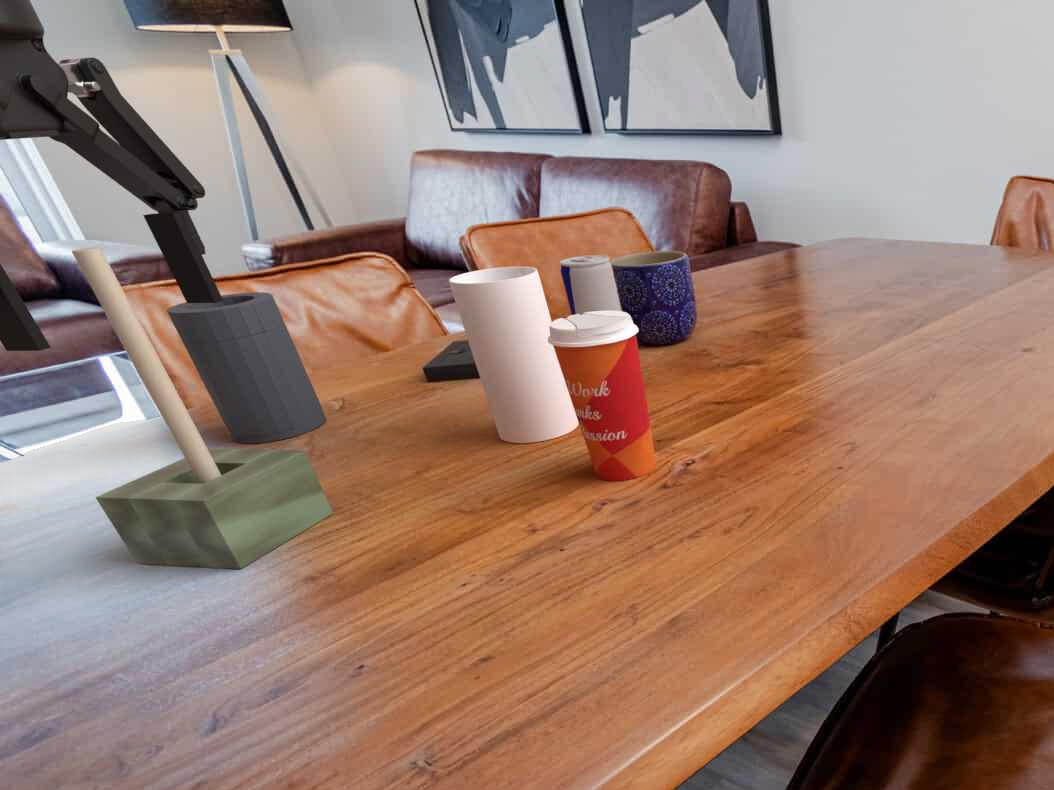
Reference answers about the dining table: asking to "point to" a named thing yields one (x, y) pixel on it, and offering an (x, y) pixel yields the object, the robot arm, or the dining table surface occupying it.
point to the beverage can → (590, 284)
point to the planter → (657, 295)
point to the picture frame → (452, 364)
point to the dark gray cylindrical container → (249, 366)
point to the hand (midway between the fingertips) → (125, 324)
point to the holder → (218, 509)
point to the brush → (146, 361)
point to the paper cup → (606, 390)
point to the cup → (515, 352)
